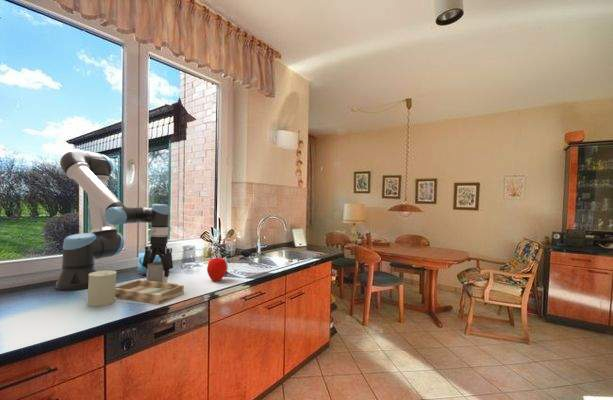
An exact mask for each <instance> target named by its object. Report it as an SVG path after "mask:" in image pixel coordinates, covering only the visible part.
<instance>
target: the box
mask: <svg viewBox="0 0 613 400" xmlns="http://www.w3.org/2000/svg"><path fill="white" fill-rule="evenodd" d="M184 289H185V285H184V284H179V283H170V282H169V283H168V282H167V283H163V282H155V281H148V280H146V279H141V278H140V279H136V280H134V281H130V282H126V283H124V284H123V283H122V284H120V285H116V291H115V299H116V298H117V299H122V300H130V301H135V302H144V303H147V304H156V305H160V304H162V303H165V302H167V301H170V300H171V299H173V298H176V297H179V296H180V295H182V294H184V293H185V292H184V291H185V290H184Z"/></svg>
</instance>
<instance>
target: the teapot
mask: <svg viewBox="0 0 613 400" xmlns="http://www.w3.org/2000/svg"><path fill="white" fill-rule="evenodd" d="M144 255H145V252H141V253H138V258H137V259H138V261H137V271H138V272H141V275H143V274H144V275H146V268H145V267H143V266H142V264H143V259H144ZM153 262H162V261H161V258H160V257H159V255H156V257H155V259H154V261H153ZM145 264H146V263H145Z"/></svg>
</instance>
